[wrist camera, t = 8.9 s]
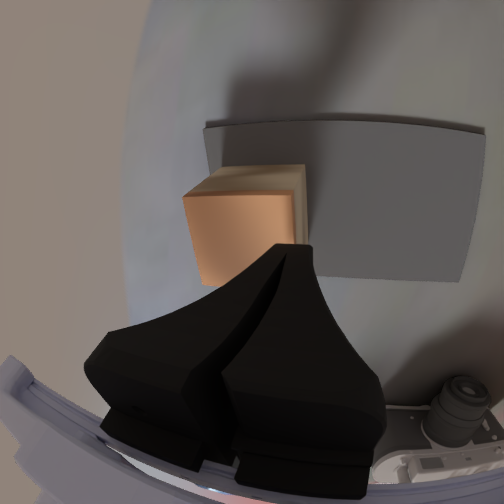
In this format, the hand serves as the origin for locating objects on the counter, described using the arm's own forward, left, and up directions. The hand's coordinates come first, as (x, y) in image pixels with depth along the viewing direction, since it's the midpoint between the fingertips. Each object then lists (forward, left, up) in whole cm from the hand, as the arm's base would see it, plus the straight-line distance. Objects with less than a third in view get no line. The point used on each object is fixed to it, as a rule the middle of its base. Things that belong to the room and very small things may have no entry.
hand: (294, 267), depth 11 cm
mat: (-2, 0, -6) cm, 6 cm away
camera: (-14, +18, -6) cm, 24 cm away
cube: (+2, 0, -1) cm, 3 cm away
